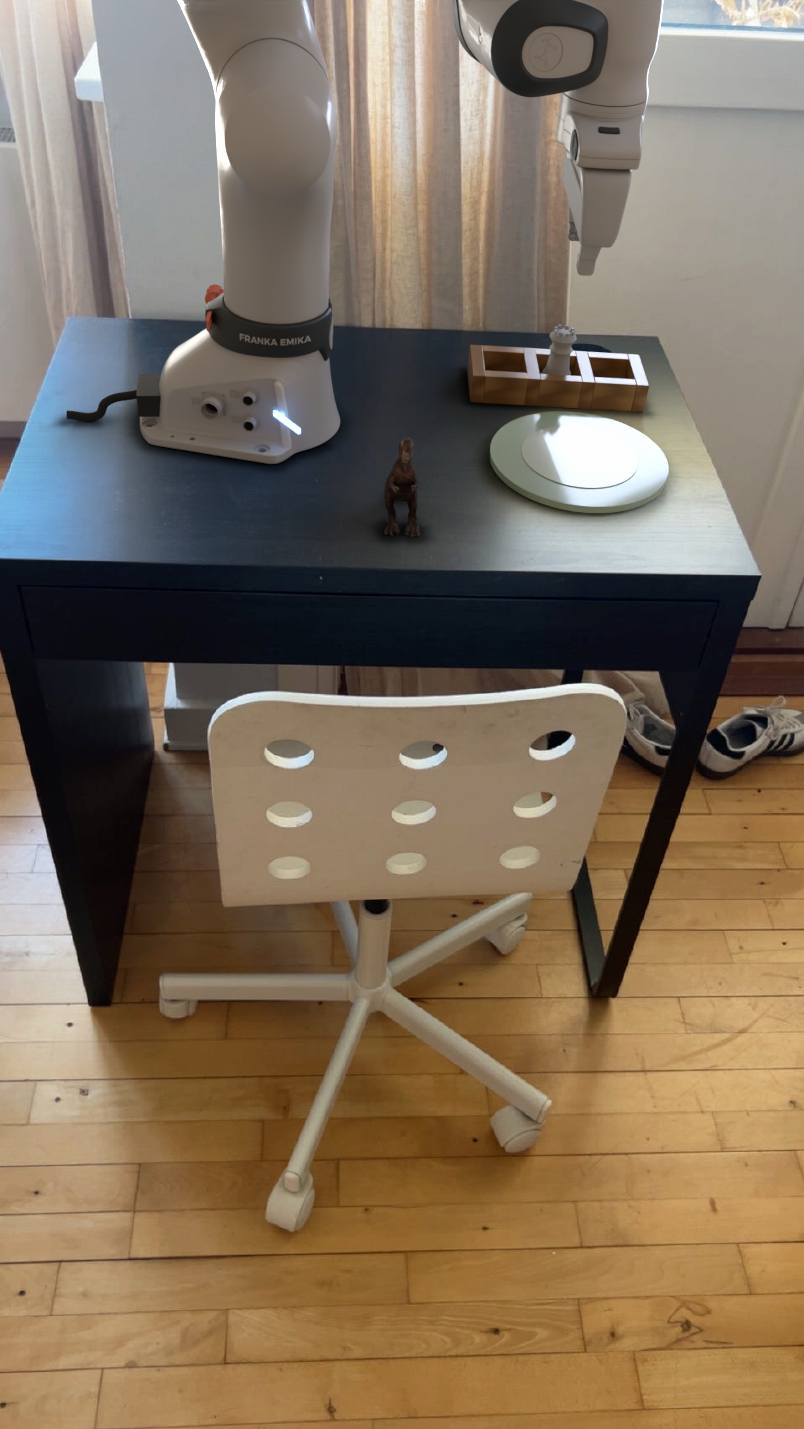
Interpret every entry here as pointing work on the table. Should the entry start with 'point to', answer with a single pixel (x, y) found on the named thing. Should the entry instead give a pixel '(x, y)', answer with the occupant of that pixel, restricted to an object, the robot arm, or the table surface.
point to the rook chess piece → (560, 351)
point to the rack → (556, 379)
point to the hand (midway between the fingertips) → (579, 255)
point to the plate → (579, 462)
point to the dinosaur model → (402, 490)
